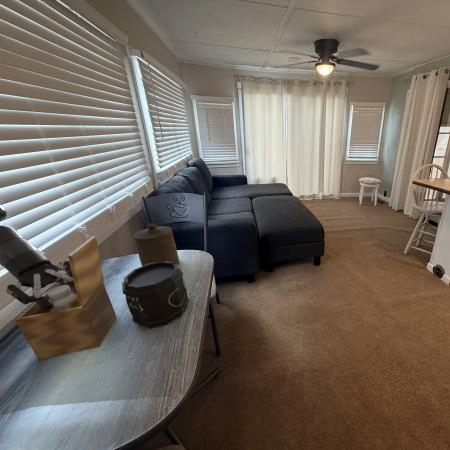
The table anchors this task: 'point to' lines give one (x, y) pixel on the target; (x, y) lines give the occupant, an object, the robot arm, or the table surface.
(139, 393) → the table surface
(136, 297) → the dark round tin
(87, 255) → the lid
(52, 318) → the box
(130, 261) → the table surface
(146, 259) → the wooden container
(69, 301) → the pill bottle
